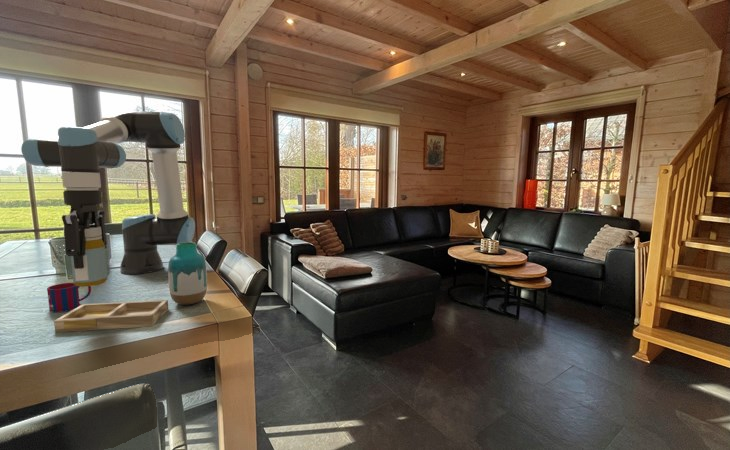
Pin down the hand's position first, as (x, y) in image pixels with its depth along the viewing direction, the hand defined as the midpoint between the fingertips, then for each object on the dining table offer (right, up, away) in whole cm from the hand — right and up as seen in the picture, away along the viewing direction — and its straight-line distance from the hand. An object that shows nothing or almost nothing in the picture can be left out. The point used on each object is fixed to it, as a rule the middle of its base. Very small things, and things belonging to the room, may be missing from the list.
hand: (90, 276), depth 88 cm
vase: (+18, -11, +16) cm, 27 cm away
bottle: (0, -2, 0) cm, 2 cm away
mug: (-15, -11, +12) cm, 22 cm away
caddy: (+5, -12, +3) cm, 14 cm away
